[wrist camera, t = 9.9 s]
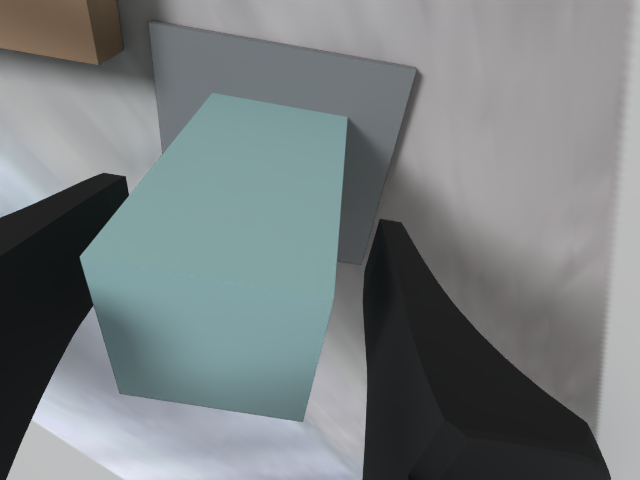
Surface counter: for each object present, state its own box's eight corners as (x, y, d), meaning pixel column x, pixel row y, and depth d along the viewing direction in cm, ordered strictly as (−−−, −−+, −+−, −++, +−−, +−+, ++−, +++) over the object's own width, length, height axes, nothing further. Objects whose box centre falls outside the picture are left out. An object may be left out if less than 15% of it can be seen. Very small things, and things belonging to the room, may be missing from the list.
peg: (326, 223, 16) (302, 422, 10) (214, 204, 16) (119, 393, 10) (347, 116, 13) (333, 298, 7) (212, 92, 13) (79, 256, 7)
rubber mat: (360, 260, 18) (361, 265, 17) (173, 229, 17) (170, 234, 17) (415, 67, 13) (416, 70, 12) (152, 20, 12) (148, 22, 12)
